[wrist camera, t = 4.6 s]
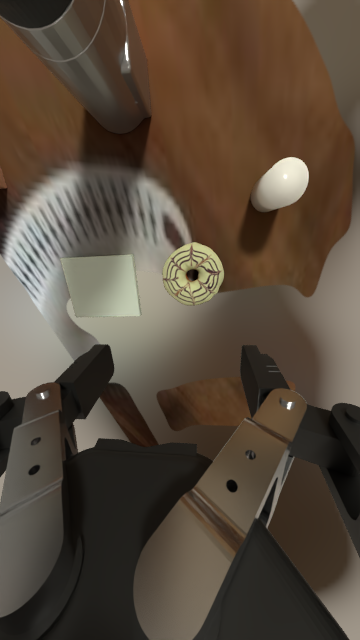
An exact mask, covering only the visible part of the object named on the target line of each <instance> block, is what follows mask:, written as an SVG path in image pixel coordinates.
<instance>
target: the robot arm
mask: <svg viewBox="0 0 360 640" xmlns="http://www.w3.org/2000/svg"><path fill="white" fill-rule="evenodd" d="M0 17H1V18H2V19H3V21H4V22H5V23H6V24H7V25H8V26H9V27H10V28H11V29H12V30H13V31H14V32H15V33H16V35H17V36H18V37H19V38H20V39H21V40H22V41H23V42H24V43H25V44H26V45H27V47H28V48H29V49H30V50H31V51H32V52H33V53H34V54H35V55H36V56H37V57H38V58H39V59H40V60H41V62H42V63H43V64H44V65H45V66H46V67H47V68H48V69H49V70H50V71H51V72H52V73H53V74H54V75H55V77H56V78H57V79H58V80H59V81H60V82H61V83H62V84H63V85H64V86H65V87H66V88H67V89H68V91H69V92H70V93H71V94H72V95H73V96H74V97H75V98H76V99H77V100H78V101H79V102H80V103H81V104H82V106H83V107H84V108H85V109H86V110H87V111H88V112H89V113H90V114H91V115H92V116H93V117H94V118H95V119H96V120H97V121H98V122H99V123H100V125H101V126H102V127H104V128H105V129H107V130H108V131H110V132H113V133H117V134H123V133H128V132H130V131H132V130H133V129H135V128H136V127H137V126H138V125H139V124H140V123H141V121H142V120H143V119H144V118H148V117H151V104H150V92H149V80H148V68H147V59H146V55H145V52H144V49H143V46H142V43H141V40H140V36H139V33H138V30H137V27H136V24H135V21H134V17H133V14H132V11H131V8H130V5H129V2H128V0H0ZM113 373H114V363H113V359H112V354H111V349H110V346H109V345H94V346H93V347H92V348H91V349H90V351H89V352H87V353H85V354H83V355H82V356H80V357H79V358H78V359H77V360H76V361H75V362H74V363H73V364H72V365H71V366H70V367H69V368H68V369H67V370H66V371H65V372H64V373H63V374H62V375H61V376H60V377H59V378H58V379H57V380H56V381H55V382H53V383H46V384H42V385H40V386H38V387H36V388H34V389H33V390H32V391H30V392H29V393H28V394H27V396H26V397H22V398H17V399H11V397H10V395H9V394H8V392H5V391H1V392H0V477H1V475H2V474H3V473H4V472H5V471H6V474H5V480H4V486H3V491H2V496H1V502H0V640H349V639H348V637H347V635H346V634H345V633H344V631H343V630H342V628H341V627H340V626H339V624H338V623H337V622H336V620H335V619H334V618H333V616H332V615H331V614H330V612H329V611H328V610H327V608H326V607H325V605H324V604H323V603H322V602H321V600H320V599H319V597H318V596H317V595H316V593H315V592H314V591H313V589H312V588H311V587H310V585H309V584H308V583H307V581H306V580H305V579H304V577H303V576H302V575H301V573H300V572H299V571H298V569H297V568H296V567H295V565H294V564H293V563H292V561H291V560H290V559H289V557H288V556H287V555H286V553H285V552H284V551H283V549H282V548H281V546H280V545H279V544H278V543H277V541H276V540H275V539H274V537H273V536H272V534H271V533H270V532H269V531H268V529H267V528H268V525H269V522H270V520H271V518H272V515H273V512H274V509H275V506H276V503H277V500H278V497H279V494H280V491H281V489H282V486H283V484H284V482H285V479H286V477H287V474H288V471H289V469H290V467H291V464H292V462H293V459H294V457H297V458H300V459H303V460H306V461H308V462H311V463H314V464H317V465H319V467H320V469H321V471H322V474H323V476H324V478H325V480H326V483H327V485H328V487H329V490H330V492H331V494H332V496H333V498H334V501H335V503H336V505H337V508H338V510H339V512H340V514H341V517H342V519H343V521H344V523H345V526H346V528H347V530H348V532H349V534H350V537H351V539H352V541H353V544H354V546H355V548H356V550H357V553H358V555H359V557H360V407H358V406H355V405H352V404H347V403H338V404H335V405H334V406H333V407H332V410H331V411H329V410H325V409H321V408H317V407H314V406H311V405H308V404H307V403H306V401H305V399H304V398H303V397H302V396H301V395H299V394H298V393H296V392H294V391H292V390H290V388H289V386H288V384H287V383H286V381H285V379H284V377H283V375H282V374H281V372H280V370H279V369H278V367H277V365H276V363H275V362H274V360H273V359H272V358H271V357H269V356H268V355H267V354H260V352H259V350H258V348H257V346H256V345H243V346H242V353H241V366H240V373H241V380H242V384H243V388H244V391H245V395H246V399H247V402H248V406H249V410H250V414H251V417H252V419H250V418H248V417H247V418H245V419H244V420H243V422H242V423H241V424H240V426H239V427H238V428H237V430H236V431H235V433H234V434H233V435H232V437H231V438H230V439H229V441H228V442H227V444H226V445H225V446H224V447H223V449H222V450H221V452H220V453H219V454H218V456H217V457H216V458H215V460H214V461H212V460H211V459H209V458H208V457H205V456H203V455H201V454H198V453H197V444H187V443H167V444H162V445H156V446H151V447H141V446H138V445H135V444H133V443H130V442H127V441H124V440H119V439H101V438H99V439H98V441H97V443H96V445H95V447H93V448H90V449H86V450H84V451H81V452H79V453H78V449H77V442H76V435H75V429H74V425H73V422H74V420H75V419H86V417H87V416H88V414H89V412H90V411H91V409H92V407H93V406H94V404H95V403H96V401H97V400H98V398H99V396H100V395H101V393H102V392H103V390H104V389H105V387H106V385H107V384H108V382H109V381H110V379H111V377H112V376H113Z"/></svg>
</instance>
